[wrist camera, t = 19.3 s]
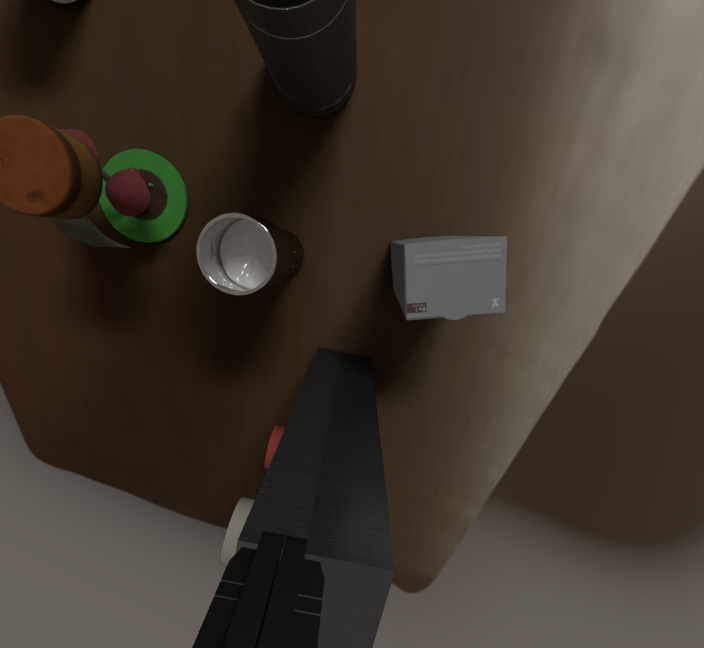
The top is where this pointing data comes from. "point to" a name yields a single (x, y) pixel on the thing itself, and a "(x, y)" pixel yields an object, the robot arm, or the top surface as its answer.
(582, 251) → the top surface
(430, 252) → the skincare box
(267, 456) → the red button
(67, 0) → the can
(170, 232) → the mushroom figurine
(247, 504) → the white cylinder
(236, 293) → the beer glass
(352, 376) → the tall grey block
